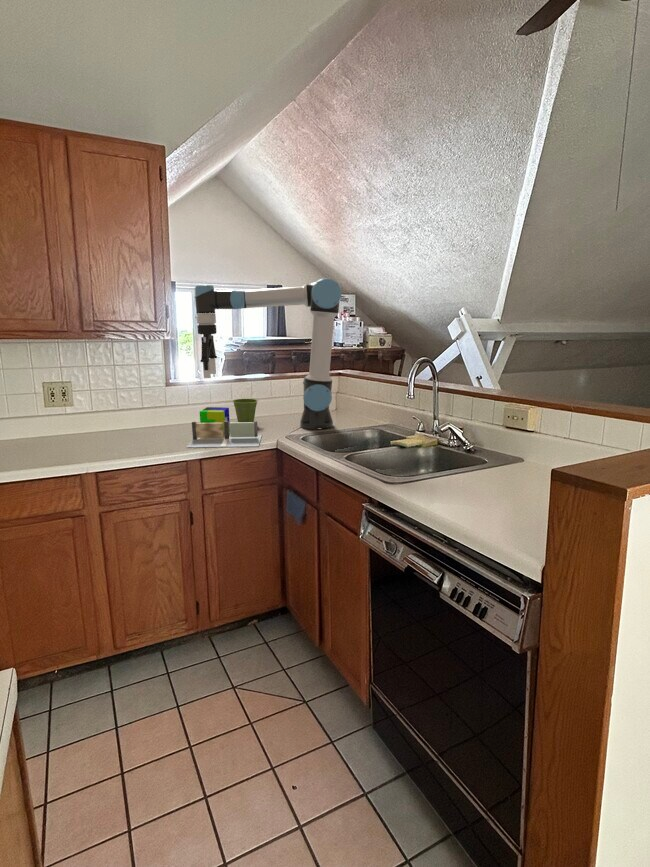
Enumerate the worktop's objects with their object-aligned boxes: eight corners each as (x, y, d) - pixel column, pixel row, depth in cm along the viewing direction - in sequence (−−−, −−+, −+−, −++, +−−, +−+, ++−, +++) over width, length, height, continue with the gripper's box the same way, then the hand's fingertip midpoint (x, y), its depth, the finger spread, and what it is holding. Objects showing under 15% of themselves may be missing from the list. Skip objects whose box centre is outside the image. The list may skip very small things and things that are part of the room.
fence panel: (257, 436, 209) (257, 421, 208) (257, 436, 208) (257, 421, 206) (230, 436, 209) (230, 421, 207) (230, 437, 207) (229, 422, 206)
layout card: (261, 435, 214) (261, 434, 214) (258, 446, 197) (258, 445, 197) (195, 436, 213) (195, 435, 213) (186, 447, 195) (186, 447, 195)
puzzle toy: (229, 429, 226) (228, 407, 223) (223, 434, 216) (222, 412, 214) (208, 428, 227) (207, 407, 224) (200, 434, 217) (199, 411, 215)
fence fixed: (229, 438, 209) (228, 421, 207) (229, 439, 207) (228, 422, 205) (193, 439, 208) (192, 421, 206) (192, 440, 207) (191, 422, 205)
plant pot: (257, 426, 230) (256, 402, 227) (231, 426, 230) (230, 402, 227) (260, 421, 241) (259, 398, 238) (235, 421, 241) (234, 398, 239)
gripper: (203, 323, 217) (206, 372, 222) (191, 325, 193) (195, 380, 198) (220, 323, 217) (223, 372, 222) (210, 325, 193) (214, 379, 198)
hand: (210, 376), depth 210 cm, fingers open, 13 cm apart
